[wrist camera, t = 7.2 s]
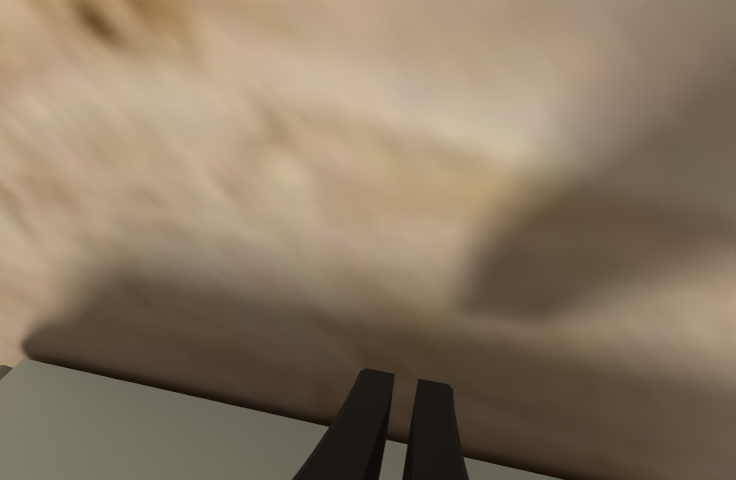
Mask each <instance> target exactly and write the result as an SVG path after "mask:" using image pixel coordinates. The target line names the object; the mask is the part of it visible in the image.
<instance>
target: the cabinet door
mask: <svg viewBox="0 0 736 480" xmlns="http://www.w3.org/2000/svg"><path fill="white" fill-rule="evenodd" d="M328 428H329V427H327V426H323V425H318V424H314V423H309V422H305V421H300V420H296V419H291V418H287V417H283V416H278V415H274V414H269V413H265V412H260V411H256V410H251V409H247V408H242V407H238V406H234V405H229V404H225V403H220V402H216V401H211V400H207V399H202V398H198V397H194V396H189V395H185V394H180V393H176V392H171V391H167V390H162V389H158V388H153V387H149V386H145V385H140V384H136V383H131V382H127V381H122V380H118V379H113V378H109V377H104V376H100V375H96V374H91V373H87V372H82V371H78V370H73V369H69V368H64V367H60V366H55V365H51V364H47V363H42V362H38V361H33V360H29V359H23V360H22V361H20V362H19V363H18V364H17V365H16V366H15V367H14V368H11V367H8V366H5V365H0V480H292V479H293V477H294V476H295V475H296V473H297V472H298V471H299V469H300V468H301V467H302V466H303V464H304V463H305V462H306V460H307V459H308V457H309V456H310V455H311V453H312V452H313V450H314V449H315V447H316V446H317V444H318V443H319V441H320V440H321V439H322V437H323V436H324V434H325V433H326V431H327V430H328ZM406 451H407V444H403V443H398V442H394V441H389V440H386V444H385V449H384V455H383V460H382V466H381V471H380V477H379V480H402V477H403V470H404V464H405V457H406ZM464 461H465V466H466V469H467V473H468V477H469V480H563V479H559V478H554V477H550V476H545V475H541V474H536V473H532V472H527V471H523V470H519V469H514V468H510V467H505V466H501V465H496V464H492V463H487V462H483V461H478V460H474V459H470V458H465V457H464Z"/></svg>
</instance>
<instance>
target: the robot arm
mask: <svg viewBox="0 0 736 480" xmlns="http://www.w3.org/2000/svg"><path fill="white" fill-rule="evenodd" d="M394 377H395V374H392V373H387V372H382V371H376V370H371V369H364V370H362V371H360V373H359V375H358V377H357V380H356V382H355V384H354V386H353V388H352V390H351V392H350V393H349V395H348V397H347V399H346V401H345V402H344V404H343V406H342V407H341V409H340V411H339V412H338V414H337V416H336V417H335V419H334V421H333V422H332V424H331V425H330V427H329V428H328V430H327V431H326V433H325V434H324V436H323V437H322V439H321V440H320V441H319V443H318V444H317V446H316V447H315V449H314V450H313V452H312V453H311V455H310V456H309V457H308V459H307V460H306V462H305V463H304V464H303V466H302V467H301V468H300V469H299V471H298V472H297V473H296V475H295V476H294V477H293V479H292V480H379V477H380V471H381V466H382V460H383V455H384V449H385V444H386V438H387V431H388V423H389V415H390V408H391V400H392V392H393V384H394ZM402 480H469V477H468V473H467V469H466V466H465V461H464V457H463V453H462V448H461V443H460V438H459V433H458V428H457V422H456V416H455V408H454V399H453V389H452V388H451V387H450V386H449V384H444V383H438V382H433V381H428V380H423V379H418V384H417V390H416V396H415V402H414V408H413V414H412V420H411V426H410V432H409V438H408V444H407V451H406V457H405V464H404V470H403V477H402Z"/></svg>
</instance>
